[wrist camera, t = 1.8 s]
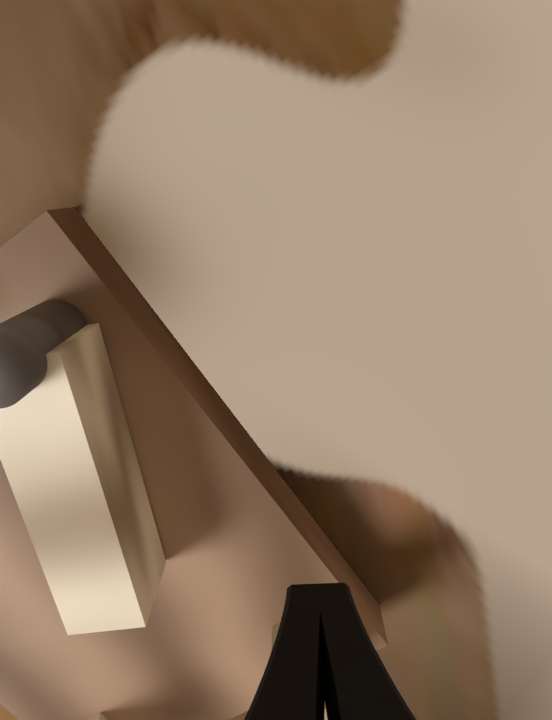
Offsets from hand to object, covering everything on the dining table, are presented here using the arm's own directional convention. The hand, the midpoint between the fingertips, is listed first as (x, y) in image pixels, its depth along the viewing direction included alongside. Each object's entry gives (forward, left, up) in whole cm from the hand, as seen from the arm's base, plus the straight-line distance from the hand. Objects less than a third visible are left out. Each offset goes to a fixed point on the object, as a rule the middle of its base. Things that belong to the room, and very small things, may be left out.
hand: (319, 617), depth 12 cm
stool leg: (-5, +5, -6) cm, 9 cm away
